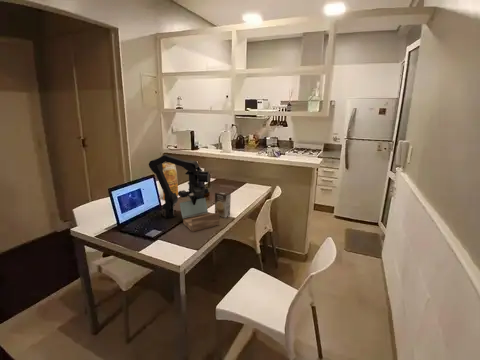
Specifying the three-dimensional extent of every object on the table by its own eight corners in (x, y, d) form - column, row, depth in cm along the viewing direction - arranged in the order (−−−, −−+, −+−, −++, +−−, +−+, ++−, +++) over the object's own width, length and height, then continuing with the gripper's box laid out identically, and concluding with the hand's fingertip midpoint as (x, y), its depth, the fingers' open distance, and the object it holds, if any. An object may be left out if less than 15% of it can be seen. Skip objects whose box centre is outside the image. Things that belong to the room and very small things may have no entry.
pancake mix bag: (157, 199, 211) (155, 164, 203) (175, 193, 226) (174, 160, 218) (163, 201, 207) (161, 165, 200) (181, 194, 223) (180, 161, 215)
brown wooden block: (183, 223, 170) (182, 211, 168) (208, 217, 180) (208, 206, 178) (192, 231, 159) (192, 219, 157) (219, 224, 169) (219, 213, 167)
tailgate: (181, 218, 171) (179, 202, 171) (206, 212, 181) (203, 198, 181) (183, 218, 169) (180, 202, 170) (208, 212, 179) (205, 197, 179)
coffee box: (214, 215, 184) (214, 192, 180) (219, 212, 189) (219, 190, 185) (225, 218, 179) (225, 195, 175) (230, 215, 185) (231, 192, 180)
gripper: (184, 186, 159) (185, 211, 163) (212, 182, 169) (212, 205, 173) (177, 182, 168) (178, 206, 172) (204, 178, 178) (204, 201, 182)
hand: (194, 204), depth 174 cm, fingers closed, pressing on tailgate
